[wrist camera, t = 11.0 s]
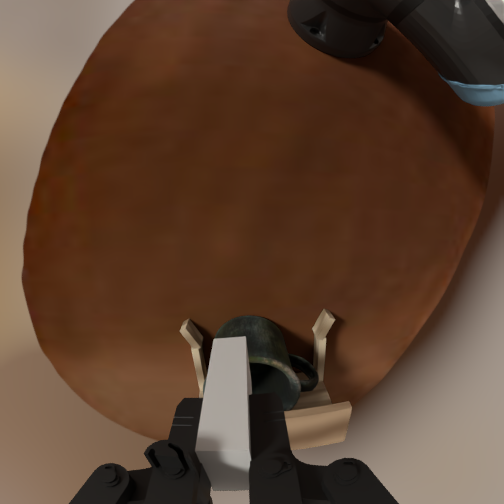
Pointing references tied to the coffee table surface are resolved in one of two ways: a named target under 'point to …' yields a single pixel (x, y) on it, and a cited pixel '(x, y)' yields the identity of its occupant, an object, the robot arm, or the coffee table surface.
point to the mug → (270, 360)
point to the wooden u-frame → (310, 403)
